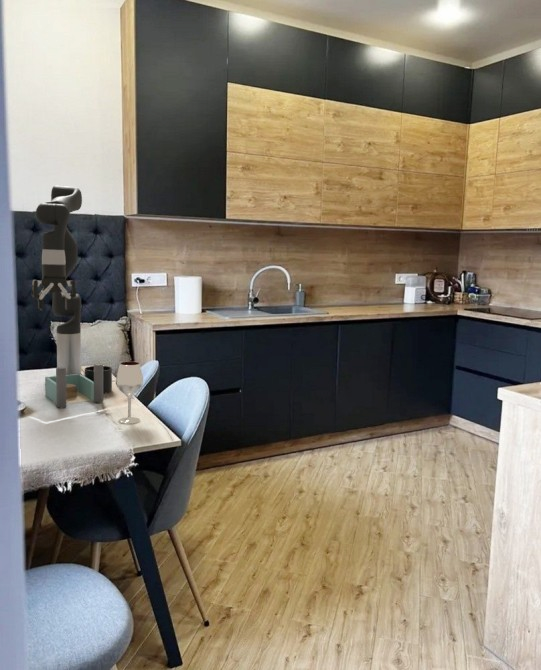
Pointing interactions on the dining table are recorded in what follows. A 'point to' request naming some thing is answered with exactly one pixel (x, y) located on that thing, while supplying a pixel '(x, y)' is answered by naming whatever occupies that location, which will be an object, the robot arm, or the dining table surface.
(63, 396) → the flap near
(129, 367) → the wineglass
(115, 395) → the dining table surface
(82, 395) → the teal open box
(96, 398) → the flap far
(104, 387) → the mug
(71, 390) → the walnut block
